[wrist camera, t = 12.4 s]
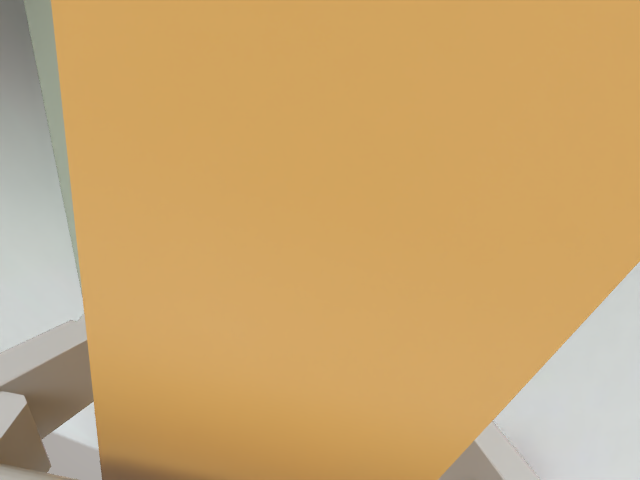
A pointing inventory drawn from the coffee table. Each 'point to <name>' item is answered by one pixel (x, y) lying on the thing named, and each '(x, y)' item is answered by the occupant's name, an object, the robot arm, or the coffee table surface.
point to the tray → (52, 99)
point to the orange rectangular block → (338, 221)
